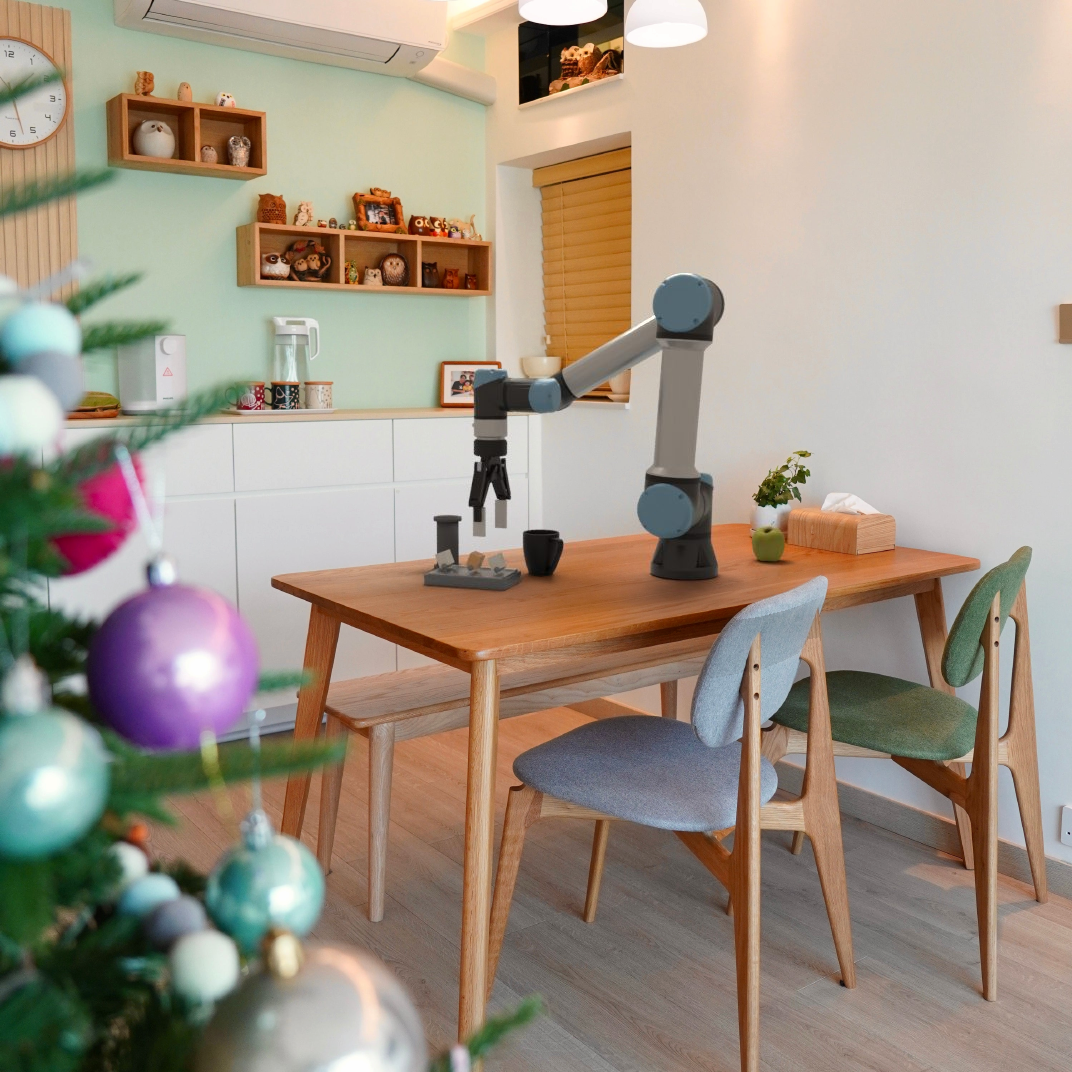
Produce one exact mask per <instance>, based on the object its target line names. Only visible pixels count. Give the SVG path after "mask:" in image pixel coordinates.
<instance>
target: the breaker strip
mask: <svg viewBox="0 0 1072 1072" xmlns="http://www.w3.org/2000/svg"><path fill="white" fill-rule="evenodd" d="M467 567H468V566H466V564H461V565H454V564H453V565H452V566H451V567H448V568H446V569H442V567H441V568H438V569H436V570H435V569H434V570H431V571H429V572H427V573H425V574H423V585H424V586H434V587H435V586H438V587H450V588H451V587H452V588H464V589H465V588H467V589H478V590H493V591H505V590H507V589H509V588H511V587H513V586H514V585H516V584H518V583H520V582H521V581H522V570H518V568H514V567H511V568H510V567H505V569H504V570H502V571H500V572H498V573H496V572H494V571H492V570H491V567H490V566H482V565H481V568H479V569H477V570H472V571H469V570H468V569H467Z"/></svg>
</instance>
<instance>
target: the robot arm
mask: <svg viewBox="0 0 1072 1072" xmlns="http://www.w3.org/2000/svg"><path fill="white" fill-rule="evenodd" d="M725 304H726V303H725V297H724V294H723V291H722V290H721V289H720V287H719V285H717V284H716V283H715V282H714V281H712V280H710V279H708V278H705V277H702V276H700V275H698V274H696V273H690V272H687V273H685V272H682V273H676V274H673V275H671V276H668V277H667V278H666V279H664V280H663V281H662V282H661V283H660V284H659V286H657V288H656V290H655V293H654V295H653V298H652V311H653V315H651V316H650V317H648V318H646V319H645V320H643V321H642V322H640V323H638V324H636V325H634V326H633V327H631V328H629V329H628V330H627V331H625V332H623V333H621V334H619V335H618V336H616V337H614V338H612V339H611V340H610V341H608V342H606V343H605V344H603V345H601V346H600V347H598V348H596V349H595V350H592V351H591V352H589V353H588V354H586V355H584V356H582V357H581V358H579V359H578V360H576V361H574V362H573V363H571V364H569V365H567V366H565V367H564V368H563V369H561V370H559V371H558V372H556V373H554V374H552V375H551V376H549V377H526V378H525V377H521V378H520V377H519V378H517V377H515V378H514V377H509V375H508V370H506V369H505V368H478V369H476V370H475V372H474V375H473V388H472V391H473V423H472V424H471V426H472V428H473V436H474V437H475V439H474V440H473V455H474V456H476V457H480V461H474V463H473V464H474V465H473V476H472V482H471V486H470V491H469V497H468V507H469V508H472V537H477V538H478V537H479V538H481V537H482V538H485V537H486V535H487V534H486V533H487V532H486V531H487V530H486V528H487V527H486V526H487V525H486V523H487V522H486V516H487V515H486V513H487V511H486V510H487V509H486V507H485V502H486V498H487V496H488V492H489V488H490V486H491V484H492V488H493V491H494V493H495V496H496V499H494V528H495V529H508V501H511V499H512V492H511V486H510V481H509V476H508V470H507V458H506V457H505V456H507V455H508V441H507V439H506V437H508V413H528V414H529V413H530V414H553V413H555V412H559V411H563V410H565V409H568V408H569V407H571V405H572V403H573V402H575V401H577V400H578V399H580V398H581V397H583V396H584V395H586V394H588V393H590V392H591V391H593V390H595V389H597V388H599V387H600V386H601V385H604V384H605V383H607V382H609V381H611V380H612V379H614V378H616V377H618V376H619V375H621V374H623V373H625V372H626V371H628V370H630V369H631V368H634V367H635V366H636V365H639V364H640V363H642V362H643V361H645V360H647V359H649V358H651V357H653V356H654V355H657V354H658V353H660V352H661V362H660V363H661V365H660V376H659V387H658V388H659V389H658V400H657V401H658V403H657V415H656V425H655V426H656V427H655V439H654V451H653V453H654V454H653V463H652V465H651V466H650V467H648V468H647V469H646V470H645V473H644V474H645V477H644V486H643V488H644V489H643V491H642V493H641V494H640V496H639V499H638V502H637V506H636V513H637V514H636V515H637V517H638V521H639V523H640V525H641V526H642V527H643V529H644V530H645V531H646V532H648V533H649V534H650V535H652V536H655V537H656V538H658V541H657V544H656V547H655V549H654V553H653V555H652V559H651V560H650V569H649V570H650V574H651V575H653V576H656V577H658V578H659V577H660V578H664V579H672V580H686V581H687V580H690V581H691V580H705V579H711V578H716V577H717V576H718V575H719V563H718V560H717V557H716V552H715V549H714V547H713V543H712V529H713V528H712V527H713V526H712V525H713V523H712V522H713V521H712V520H713V499H714V498H713V497H714V496H713V493H714V489H715V487H714V480H713V479H714V478H713V476H712V475H711V474H710V473H707V472H699V471H698V470H697V468H696V466H695V465H696V464H695V463H696V452H697V440H698V429H699V415H700V405H701V394H702V383H703V382H702V381H703V371H704V370H703V369H704V357H705V356H704V355H705V351H706V349H708V348H709V347H710V346H711V345H712V344H713V342H714V341H713V340H714V329H715V327H716V326H717V325H718V323H720V321H721V320H722V318H723V316H724V313H725V306H726V305H725Z"/></svg>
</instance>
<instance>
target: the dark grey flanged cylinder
mask: <svg viewBox="0 0 1072 1072" xmlns="http://www.w3.org/2000/svg"><path fill="white" fill-rule="evenodd" d="M433 521H434V522H436V554H438V553H441V552H443V551H446V550H449V549H450V551H451V554H452V557H453V559H454V563H453V564H454V565H462V564H461V563H460V557H459V556H460V553H459V552H460V549H459V548H460V546H459V545H460V543H459V542H460V539H459V537H460V534H459V530H460V529H459V527H460V526H459V525H460V523H459V522H462V521H463V518H462V516H461V515H458V514H457V515H454V514H440V515H439V514H438V515H434V516H433ZM438 568H440V567H439V565H438V562H437V561H436V564H433V569H434V570H436V569H438Z"/></svg>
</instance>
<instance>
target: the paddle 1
mask: <svg viewBox="0 0 1072 1072" xmlns="http://www.w3.org/2000/svg"><path fill="white" fill-rule="evenodd" d="M434 556H435V559H436V563H437V562H438V565H439V567H440V568H441V567H442V569H446V568H448V567H451V566H452V565H453V563H454V559H453V557H452V554H451V551H450V549H449V550H446V551H443V552H441V553H438V554H437V553H436V554H435V555H434Z"/></svg>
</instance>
